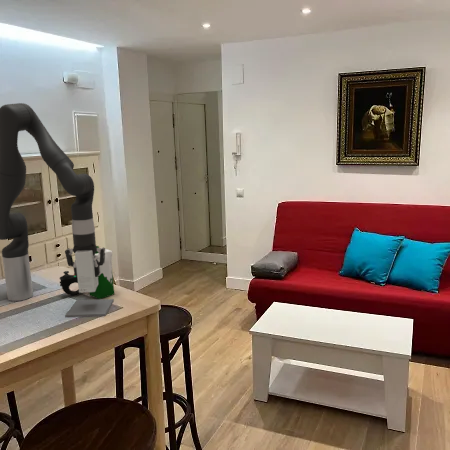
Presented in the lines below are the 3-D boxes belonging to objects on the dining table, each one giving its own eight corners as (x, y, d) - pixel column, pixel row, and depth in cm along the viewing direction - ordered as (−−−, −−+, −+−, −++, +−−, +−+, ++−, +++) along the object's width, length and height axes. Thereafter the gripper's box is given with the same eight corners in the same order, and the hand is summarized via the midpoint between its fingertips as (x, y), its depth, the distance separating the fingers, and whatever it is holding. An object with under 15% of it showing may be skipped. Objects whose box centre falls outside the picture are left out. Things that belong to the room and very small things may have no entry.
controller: (60, 295, 180) (58, 271, 178) (92, 290, 185) (90, 266, 183) (61, 298, 176) (59, 274, 174) (94, 293, 181) (92, 269, 179)
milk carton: (86, 295, 180) (81, 246, 175) (105, 289, 186) (102, 241, 182) (98, 300, 174) (94, 250, 169) (118, 294, 180) (114, 245, 176)
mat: (76, 301, 173) (76, 300, 173) (113, 300, 173) (113, 299, 173) (65, 317, 159) (65, 315, 159) (105, 316, 160) (105, 313, 159)
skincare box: (95, 292, 161) (92, 251, 158) (77, 293, 160) (74, 252, 157) (98, 284, 169) (95, 245, 166) (82, 285, 168) (78, 246, 165)
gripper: (59, 234, 156) (64, 280, 160) (101, 233, 156) (105, 279, 160) (66, 229, 163) (70, 273, 167) (106, 228, 164) (109, 272, 167)
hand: (87, 276), depth 164 cm, fingers closed on skincare box, 6 cm apart
